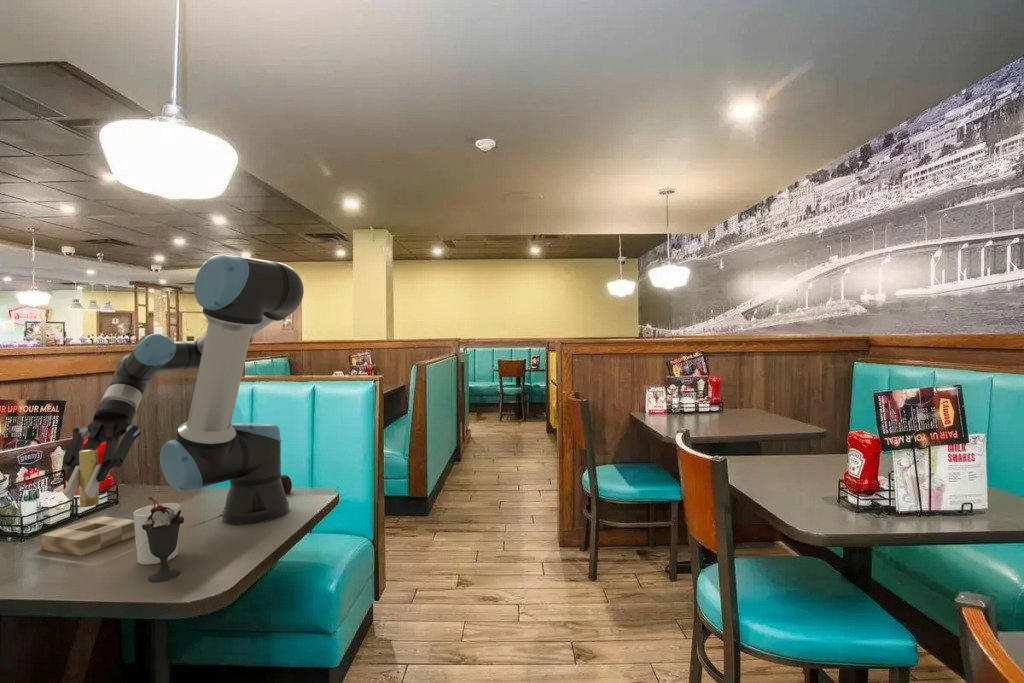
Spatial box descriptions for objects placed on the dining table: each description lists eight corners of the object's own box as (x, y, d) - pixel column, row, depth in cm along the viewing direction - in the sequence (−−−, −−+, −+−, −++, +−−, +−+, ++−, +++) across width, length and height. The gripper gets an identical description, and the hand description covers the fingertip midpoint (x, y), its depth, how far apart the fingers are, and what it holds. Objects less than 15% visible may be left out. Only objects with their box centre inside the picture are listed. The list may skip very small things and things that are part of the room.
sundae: (136, 578, 96) (134, 497, 96) (176, 565, 101) (175, 488, 101) (149, 588, 92) (147, 503, 92) (190, 574, 97) (189, 494, 97)
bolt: (233, 511, 140) (286, 496, 151) (240, 505, 137) (294, 490, 149) (227, 491, 141) (280, 477, 153) (234, 484, 138) (288, 471, 150)
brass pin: (102, 503, 115) (101, 449, 115) (86, 507, 112) (85, 452, 112) (91, 501, 116) (91, 448, 116) (76, 506, 113) (75, 451, 113)
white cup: (181, 560, 104) (180, 510, 104) (132, 570, 100) (131, 518, 100) (181, 547, 110) (180, 500, 110) (135, 556, 106) (135, 507, 106)
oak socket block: (138, 536, 117) (138, 520, 117) (81, 557, 106) (80, 540, 106) (101, 531, 121) (100, 516, 121) (41, 551, 110) (40, 534, 110)
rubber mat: (154, 518, 129) (154, 516, 129) (122, 529, 122) (122, 528, 122) (125, 515, 132) (125, 513, 132) (91, 525, 125) (91, 524, 125)
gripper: (160, 415, 131) (128, 500, 114) (86, 418, 127) (42, 506, 111) (150, 396, 125) (115, 483, 109) (72, 399, 122) (24, 489, 106)
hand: (78, 495), depth 110 cm, fingers closed on brass pin, 3 cm apart
